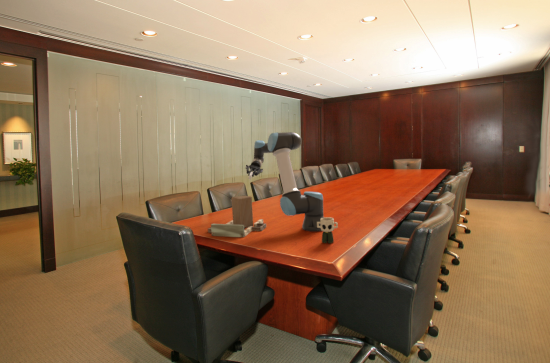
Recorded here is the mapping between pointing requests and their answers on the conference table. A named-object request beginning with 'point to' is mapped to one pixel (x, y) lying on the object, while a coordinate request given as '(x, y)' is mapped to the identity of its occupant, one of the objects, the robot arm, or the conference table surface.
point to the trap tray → (235, 229)
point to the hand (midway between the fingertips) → (249, 177)
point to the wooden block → (242, 211)
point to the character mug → (327, 229)
